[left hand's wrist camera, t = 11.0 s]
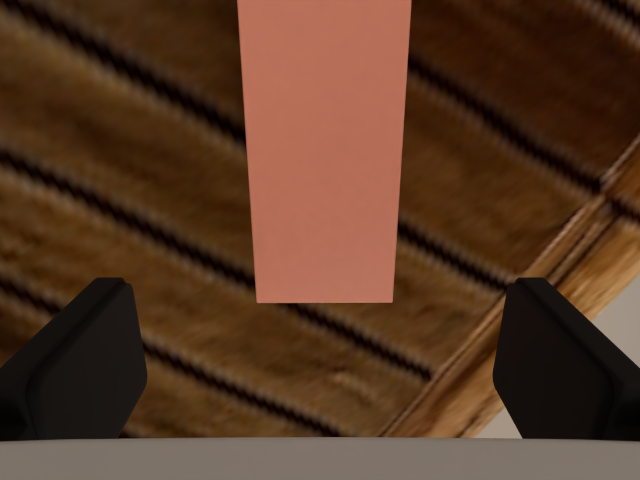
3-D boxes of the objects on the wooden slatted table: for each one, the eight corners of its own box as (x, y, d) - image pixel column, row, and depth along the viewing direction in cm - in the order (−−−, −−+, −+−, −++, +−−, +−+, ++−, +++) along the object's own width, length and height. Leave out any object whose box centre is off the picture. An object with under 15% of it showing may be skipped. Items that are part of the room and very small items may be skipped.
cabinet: (258, -139, 22) (219, -267, 13) (387, -140, 22) (428, -269, 13) (275, 234, 29) (256, 303, 21) (372, 234, 29) (392, 302, 21)
